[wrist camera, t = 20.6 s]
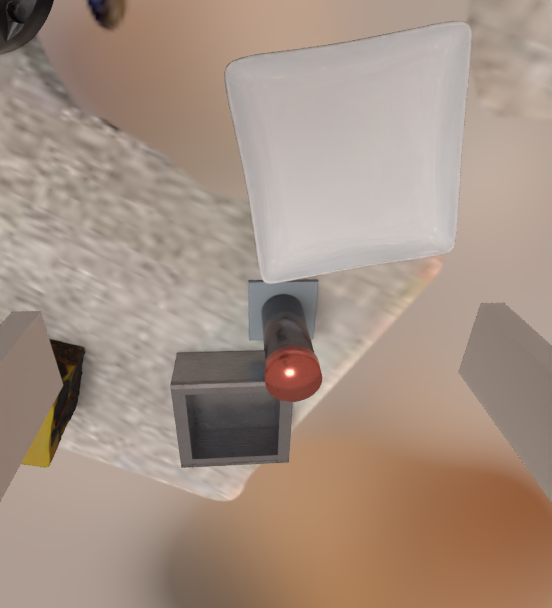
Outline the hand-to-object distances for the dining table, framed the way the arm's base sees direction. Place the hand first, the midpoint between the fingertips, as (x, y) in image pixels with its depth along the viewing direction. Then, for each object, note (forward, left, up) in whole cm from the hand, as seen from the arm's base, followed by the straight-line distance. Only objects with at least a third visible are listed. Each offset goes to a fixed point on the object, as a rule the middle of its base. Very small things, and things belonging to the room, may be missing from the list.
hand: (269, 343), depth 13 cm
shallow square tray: (-2, -31, -32) cm, 44 cm away
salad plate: (+10, -1, -32) cm, 34 cm away
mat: (+4, -18, -32) cm, 37 cm away
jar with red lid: (+4, -18, -31) cm, 36 cm away
